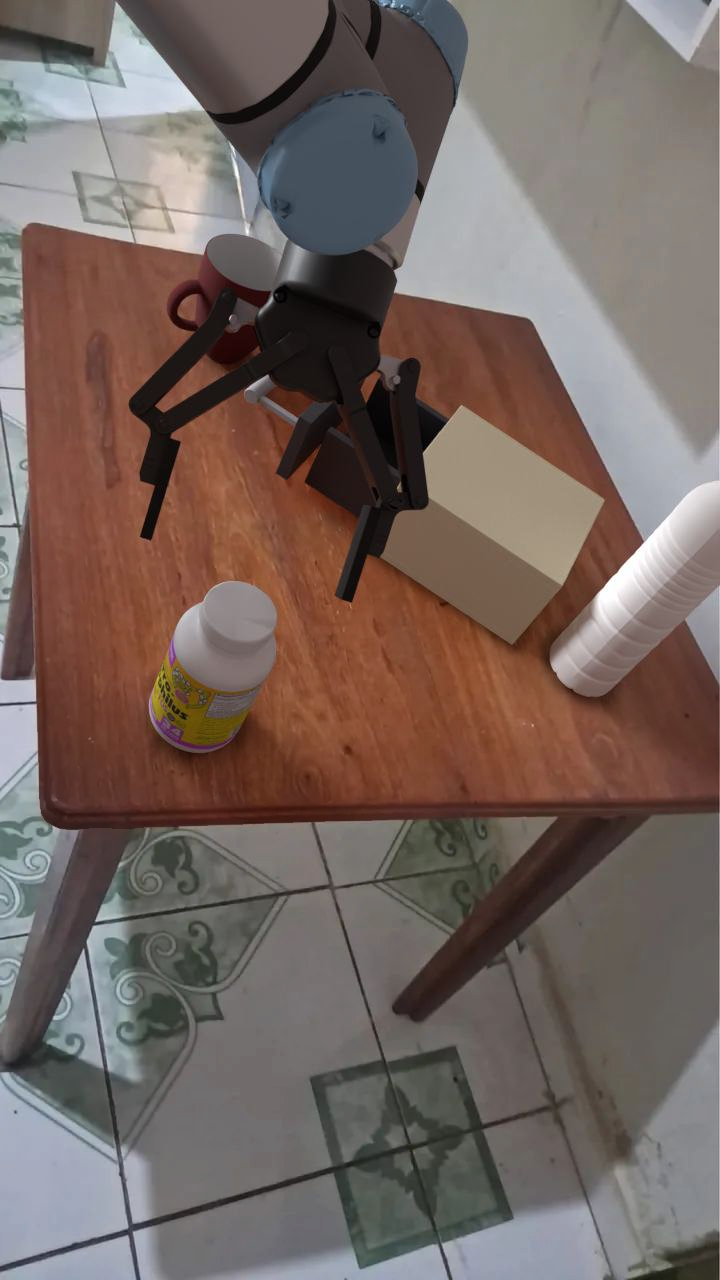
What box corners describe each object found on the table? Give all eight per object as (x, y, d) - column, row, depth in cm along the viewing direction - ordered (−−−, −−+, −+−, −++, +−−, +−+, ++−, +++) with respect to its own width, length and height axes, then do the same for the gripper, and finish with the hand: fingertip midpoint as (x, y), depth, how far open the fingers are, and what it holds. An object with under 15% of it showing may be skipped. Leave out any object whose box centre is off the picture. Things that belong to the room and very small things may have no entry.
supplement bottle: (136, 681, 68) (174, 569, 58) (224, 671, 71) (274, 563, 61) (159, 764, 64) (203, 660, 55) (250, 750, 68) (307, 649, 58)
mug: (178, 385, 87) (203, 294, 80) (143, 326, 90) (164, 232, 83) (276, 376, 93) (308, 290, 85) (240, 321, 96) (268, 233, 88)
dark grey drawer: (219, 436, 84) (239, 376, 79) (287, 376, 92) (309, 318, 87) (412, 564, 83) (445, 513, 78) (462, 492, 92) (495, 441, 87)
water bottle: (534, 645, 84) (713, 442, 66) (585, 631, 88) (769, 436, 69) (587, 728, 81) (791, 538, 62) (638, 710, 84) (846, 527, 66)
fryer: (363, 546, 84) (402, 479, 77) (423, 470, 93) (461, 404, 86) (512, 645, 83) (562, 586, 77) (557, 559, 92) (605, 499, 86)
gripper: (153, 157, 55) (50, 511, 57) (539, 313, 60) (434, 630, 62) (154, 196, 62) (63, 509, 64) (499, 332, 68) (406, 615, 70)
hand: (246, 570), depth 63 cm, fingers open, 13 cm apart
